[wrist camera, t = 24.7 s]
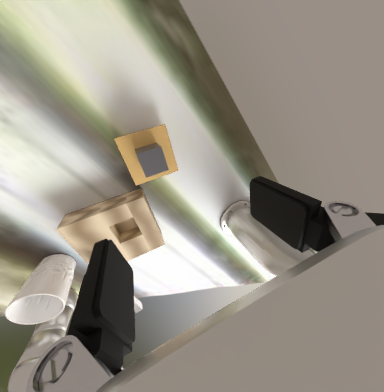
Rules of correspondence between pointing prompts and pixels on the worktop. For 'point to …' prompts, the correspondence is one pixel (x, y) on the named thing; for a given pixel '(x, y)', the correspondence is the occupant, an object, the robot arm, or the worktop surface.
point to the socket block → (114, 226)
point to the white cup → (43, 291)
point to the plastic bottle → (41, 344)
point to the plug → (147, 154)
